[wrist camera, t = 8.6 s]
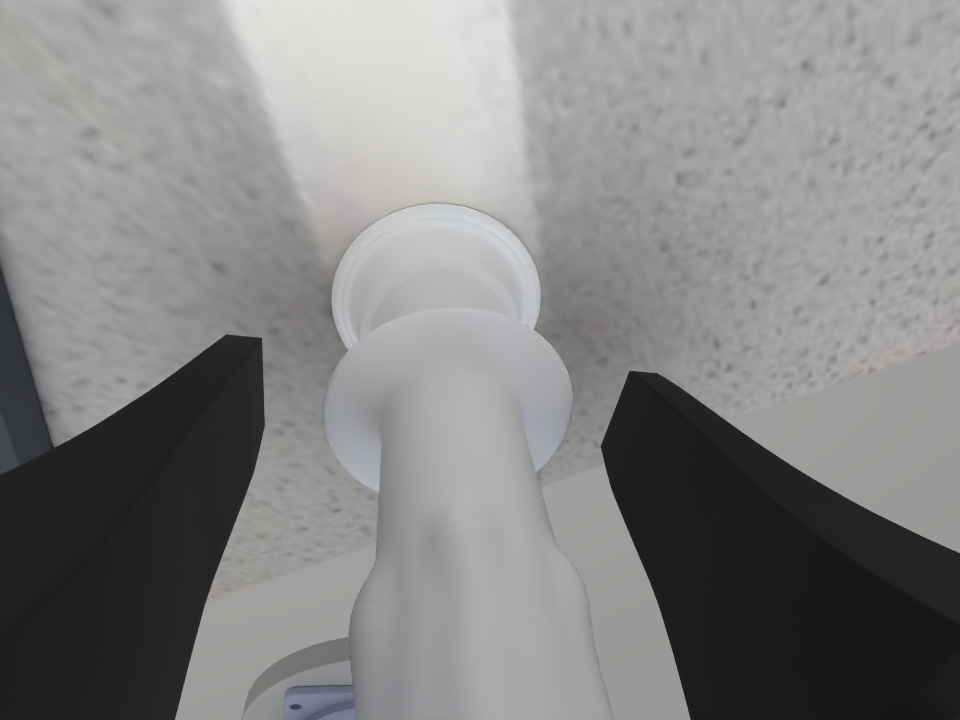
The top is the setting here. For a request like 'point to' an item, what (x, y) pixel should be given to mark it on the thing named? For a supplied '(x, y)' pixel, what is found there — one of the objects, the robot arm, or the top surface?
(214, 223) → the top surface
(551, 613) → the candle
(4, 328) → the scale
